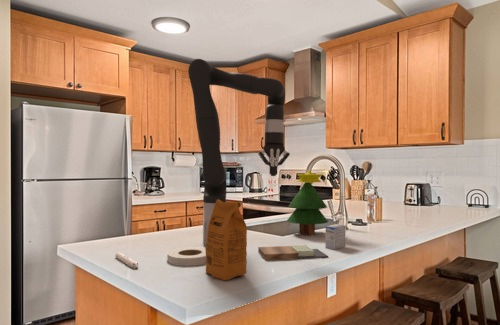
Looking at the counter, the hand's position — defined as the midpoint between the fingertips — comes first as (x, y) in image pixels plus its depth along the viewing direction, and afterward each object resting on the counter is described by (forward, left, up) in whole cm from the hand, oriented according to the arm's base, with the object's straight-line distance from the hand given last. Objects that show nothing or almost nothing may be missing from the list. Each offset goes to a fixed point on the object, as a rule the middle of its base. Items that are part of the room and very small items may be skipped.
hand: (273, 176), depth 141 cm
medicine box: (+25, -3, -29) cm, 38 cm away
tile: (+8, -11, -28) cm, 31 cm away
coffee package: (-22, -31, -29) cm, 47 cm away
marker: (-53, -13, -29) cm, 61 cm away
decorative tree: (+23, +25, -29) cm, 45 cm away
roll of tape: (-32, -12, -29) cm, 45 cm away
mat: (+10, -12, -28) cm, 32 cm away
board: (-1, -12, -28) cm, 30 cm away
